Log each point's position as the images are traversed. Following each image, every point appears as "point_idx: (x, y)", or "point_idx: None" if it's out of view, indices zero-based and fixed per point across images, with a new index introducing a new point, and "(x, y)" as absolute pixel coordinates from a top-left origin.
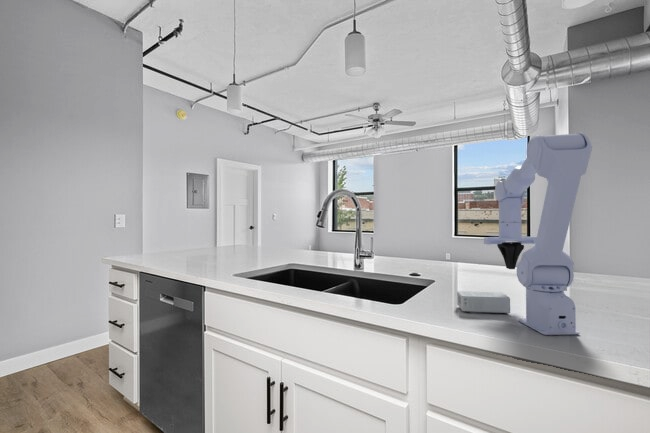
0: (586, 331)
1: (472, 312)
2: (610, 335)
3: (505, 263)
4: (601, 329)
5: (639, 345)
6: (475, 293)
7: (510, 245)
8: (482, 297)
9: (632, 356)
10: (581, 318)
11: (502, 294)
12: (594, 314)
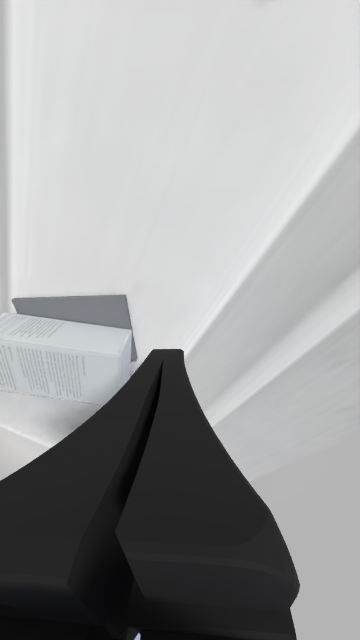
0: (222, 444)
1: None
2: (245, 456)
3: (140, 368)
4: (257, 439)
5: (250, 478)
6: (27, 369)
7: (108, 631)
8: (45, 396)
9: None
10: (279, 396)
11: (110, 380)
12: (342, 377)
